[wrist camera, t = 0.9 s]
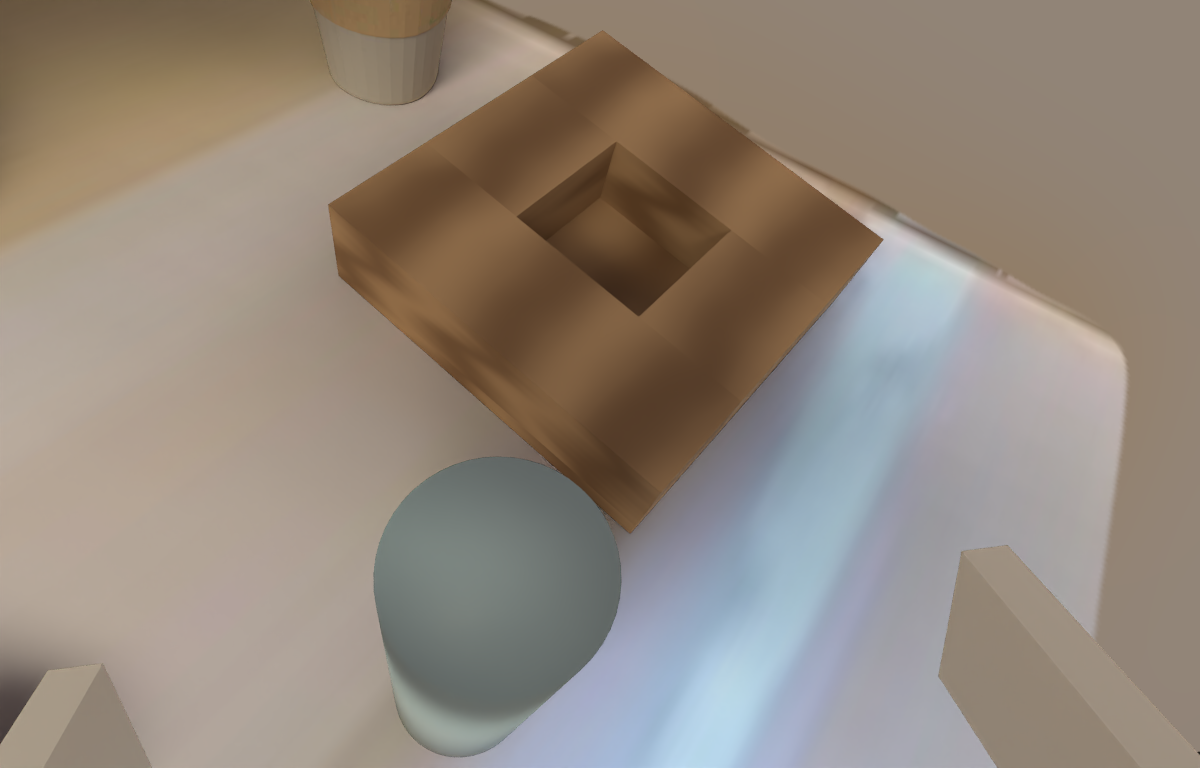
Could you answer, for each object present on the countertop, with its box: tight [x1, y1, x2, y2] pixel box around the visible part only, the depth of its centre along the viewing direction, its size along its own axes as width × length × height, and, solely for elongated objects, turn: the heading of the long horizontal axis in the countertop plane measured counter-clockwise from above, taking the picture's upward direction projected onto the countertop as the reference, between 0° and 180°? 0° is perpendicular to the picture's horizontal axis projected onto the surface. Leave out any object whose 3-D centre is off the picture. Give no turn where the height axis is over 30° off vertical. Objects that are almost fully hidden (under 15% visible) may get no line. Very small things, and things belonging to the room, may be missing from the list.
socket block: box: [328, 31, 883, 534], centre depth 38 cm, size 18×18×5 cm
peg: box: [374, 457, 621, 757], centre depth 23 cm, size 5×5×16 cm
